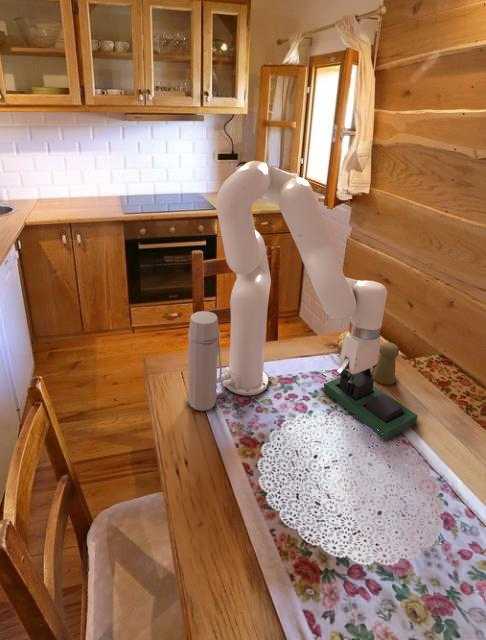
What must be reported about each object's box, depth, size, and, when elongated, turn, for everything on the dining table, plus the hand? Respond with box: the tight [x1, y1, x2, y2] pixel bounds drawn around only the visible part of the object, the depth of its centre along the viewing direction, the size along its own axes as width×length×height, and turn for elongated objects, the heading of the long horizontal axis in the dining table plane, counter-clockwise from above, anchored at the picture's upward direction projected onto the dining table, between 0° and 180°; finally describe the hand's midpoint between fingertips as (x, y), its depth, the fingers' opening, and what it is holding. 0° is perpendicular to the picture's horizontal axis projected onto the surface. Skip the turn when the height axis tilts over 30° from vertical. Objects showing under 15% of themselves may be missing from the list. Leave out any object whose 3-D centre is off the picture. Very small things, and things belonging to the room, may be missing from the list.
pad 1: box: [339, 372, 375, 401], centre depth 108 cm, size 6×6×4 cm
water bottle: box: [187, 310, 223, 412], centre depth 102 cm, size 9×8×25 cm
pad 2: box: [365, 394, 403, 424], centre depth 101 cm, size 6×6×4 cm
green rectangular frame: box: [323, 376, 419, 441], centre depth 105 cm, size 11×20×2 cm, turn 31°
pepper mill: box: [372, 341, 400, 385], centre depth 115 cm, size 6×6×11 cm
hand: (355, 388), depth 108 cm, fingers closed on pad 1, 6 cm apart
